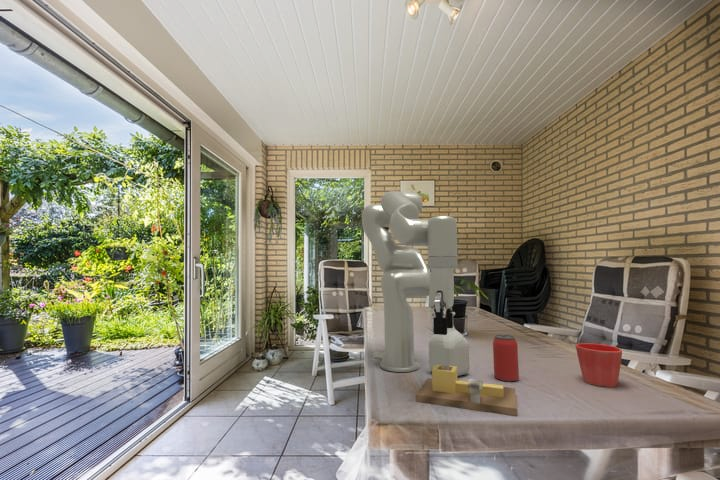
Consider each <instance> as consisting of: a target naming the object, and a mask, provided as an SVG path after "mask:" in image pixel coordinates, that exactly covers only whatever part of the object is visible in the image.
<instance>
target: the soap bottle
mask: <svg viewBox="0 0 720 480" xmlns="http://www.w3.org/2000/svg"><path fill="white" fill-rule="evenodd" d="M452 313H453V317H454V316H455V315H456V312H455V311H452ZM469 346H470V344H469V341H468V340H467V339H466V338H465V336H463V335H462V334H461V332H459V331H458V330H457V329H456V328H455V325H454V324H453V328H447V335H439V334H434V333H433V335H432V336H431V338H430V339H429V341H428V360H429V361H428V363H429V364H428V365H429V370H430V371H431V372H432V369H433V368H434V367H435V365H447V366H457V375H458V377H460V376H463V375H467V374H468V373H469V372H470V347H469Z"/></svg>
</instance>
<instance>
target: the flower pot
mask: <svg viewBox="0 0 720 480" xmlns="http://www.w3.org/2000/svg"><path fill="white" fill-rule="evenodd" d="M575 350H576V353H577V359H578V362H579V363H578V364H579V367H580V372H581V375H582V379H583V381H584V382H585V383H587V384H589V385H593V386H597V387H607V388H612V387H613V388H615V387H617V386H618V384H619V379H620V378H619V377H620V371H621V365H622V357H623V356H622V355H623V350H622V349H621V348H620V347H617V346H613V345H608V344H601V343H588V342H587V343H586V342H585V343H582V342H581V343H580V342H579V343H576V344H575Z"/></svg>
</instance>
